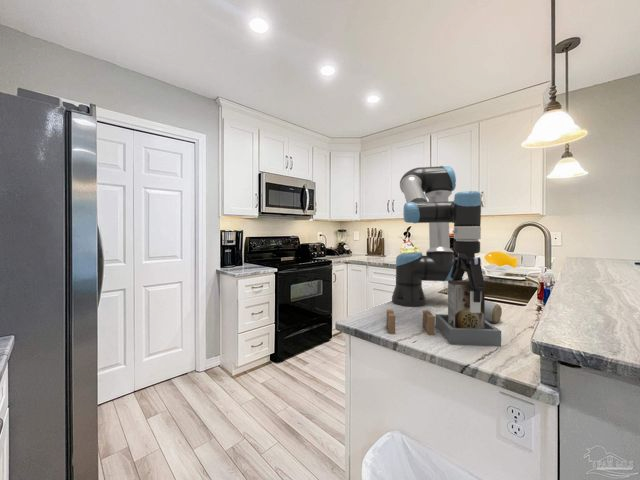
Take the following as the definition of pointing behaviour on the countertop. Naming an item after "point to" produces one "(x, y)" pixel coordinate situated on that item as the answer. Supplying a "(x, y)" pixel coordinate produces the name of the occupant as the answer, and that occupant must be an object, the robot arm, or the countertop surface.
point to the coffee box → (463, 306)
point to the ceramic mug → (492, 312)
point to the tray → (468, 333)
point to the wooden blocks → (427, 321)
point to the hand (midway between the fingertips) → (465, 306)
